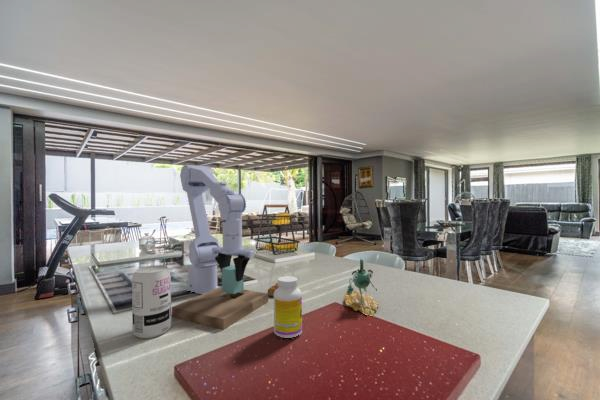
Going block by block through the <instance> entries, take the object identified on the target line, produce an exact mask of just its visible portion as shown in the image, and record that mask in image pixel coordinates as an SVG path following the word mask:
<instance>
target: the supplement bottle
mask: <svg viewBox="0 0 600 400" xmlns="http://www.w3.org/2000/svg"><path fill="white" fill-rule="evenodd" d="M277 283H278V286H279V288H278V289H276V290H275V292H274V297H273V333H274V335H275V334H276V335H277V336H280V337H284V338H292V337H296V336H298V335H299V336H301V335H302V333H303V299H302V298H303V297H302V296H303V293H302V290H301V289H300V288H298V283H299V280H298V277H297V276H293V275H291V276H290V275H287V276H280V277H278V278H277ZM276 335H275V336H276ZM277 336H276V337H277ZM299 336H298V337H299ZM296 338H297V337H296ZM292 339H293V338H292Z"/></svg>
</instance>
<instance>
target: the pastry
mask: <svg viewBox="0 0 600 400" xmlns="http://www.w3.org/2000/svg"><path fill="white" fill-rule="evenodd" d="M278 288H279V286H278V282H277V283H276V284H274V285H272V286H270V287H269V288H268V289H267V294H268V296H271V297H273V298H274V292H275V290H276V289H278Z"/></svg>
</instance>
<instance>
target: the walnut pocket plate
mask: <svg viewBox="0 0 600 400" xmlns="http://www.w3.org/2000/svg"><path fill="white" fill-rule="evenodd" d="M267 293H268V292H267ZM267 293H266V292H261V291H255V290H248V289H244V290H242V291H240V292H238V293H236V294H230V293H225V292H222V285H221V286H220V287H219V288H216V289H214V290H211V291H209V292H207V293H204V294H199V295H197V296H195V297H193V298H190V299H188V300H186V301H183V302H181V303H179V304H177V305H174V306H171V318H172V317H173V318H177V319H181V320H184V321H187V322H188V321H189V322H193V323H197V324H200V325H205V326H209V327H213V328H217V329H220V330H225V329H227V328H228V327H230V326H232V325H233V324H235V323H238V322H239V321H240V320H242V319H243V318H245V317H246V316H248V315H250V314H251V313H253V312H254V311H256V310H258V309H259V308H261V307H263V306H264V305H265V304H267V303H269V295H268V294H267Z"/></svg>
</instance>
